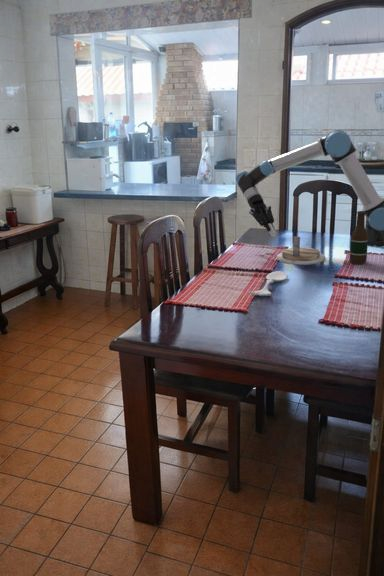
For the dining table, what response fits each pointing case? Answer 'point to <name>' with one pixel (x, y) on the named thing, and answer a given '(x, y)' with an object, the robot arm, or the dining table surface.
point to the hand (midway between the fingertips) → (274, 235)
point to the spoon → (270, 278)
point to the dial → (300, 252)
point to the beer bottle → (359, 241)
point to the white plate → (301, 261)
